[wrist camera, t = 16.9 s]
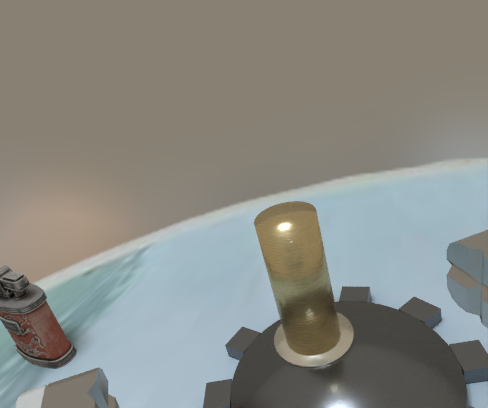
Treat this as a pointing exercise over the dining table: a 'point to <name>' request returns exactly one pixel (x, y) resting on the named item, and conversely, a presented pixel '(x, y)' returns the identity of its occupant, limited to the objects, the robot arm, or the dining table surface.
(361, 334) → the sprocket plate
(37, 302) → the lighter
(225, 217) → the dining table surface
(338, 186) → the dining table surface
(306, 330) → the pin
